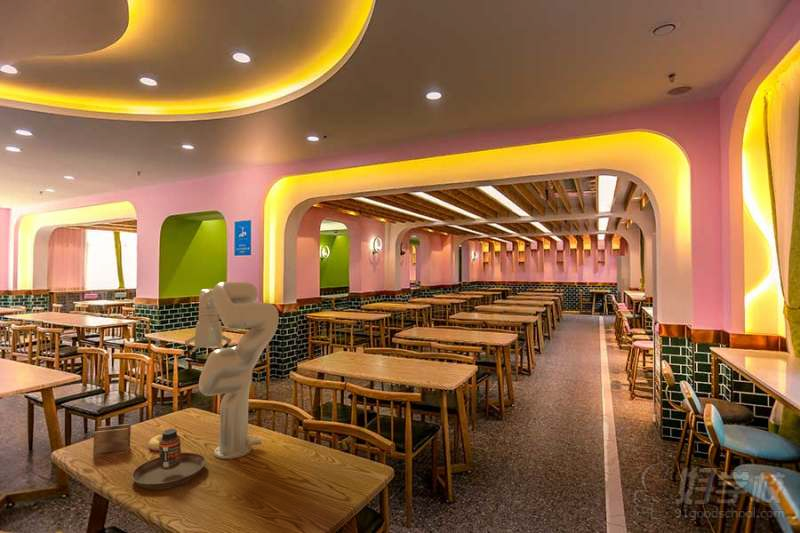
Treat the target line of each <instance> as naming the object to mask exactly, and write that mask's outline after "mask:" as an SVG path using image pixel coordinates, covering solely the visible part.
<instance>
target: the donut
mask: <svg viewBox="0 0 800 533" xmlns="http://www.w3.org/2000/svg"><path fill="white" fill-rule="evenodd" d="M161 438H162V434H158V435H156V436H154V437H152V438H151V439H150V440H149V441H148V448H149V449H151V450H152V451H155V452H159V441H160V439H161Z"/></svg>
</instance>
